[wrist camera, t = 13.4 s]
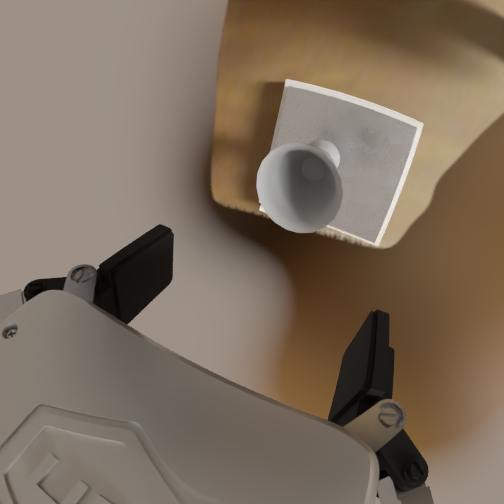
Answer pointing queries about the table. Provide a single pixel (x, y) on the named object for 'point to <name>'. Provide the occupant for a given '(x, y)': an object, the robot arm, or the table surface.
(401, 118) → the base
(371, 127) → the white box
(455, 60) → the table surface
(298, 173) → the chalice
